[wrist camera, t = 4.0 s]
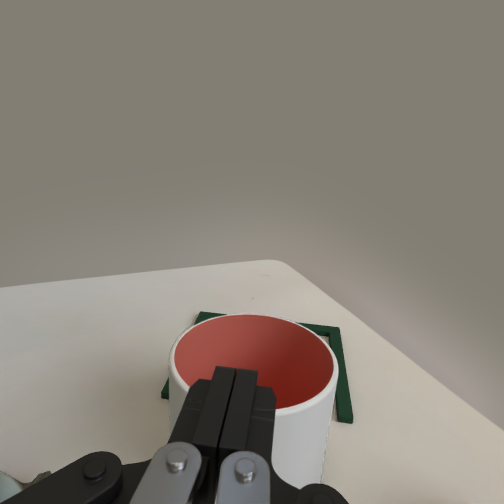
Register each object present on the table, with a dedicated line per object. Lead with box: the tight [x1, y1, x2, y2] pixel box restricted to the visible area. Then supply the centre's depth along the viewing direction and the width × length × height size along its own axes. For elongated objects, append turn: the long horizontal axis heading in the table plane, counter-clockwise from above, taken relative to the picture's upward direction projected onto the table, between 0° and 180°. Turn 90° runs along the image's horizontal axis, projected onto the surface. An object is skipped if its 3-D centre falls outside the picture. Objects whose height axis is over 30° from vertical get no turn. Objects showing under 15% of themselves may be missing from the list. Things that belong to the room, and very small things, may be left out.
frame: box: [161, 312, 353, 423], centre depth 41 cm, size 16×14×1 cm
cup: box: [169, 313, 339, 504], centre depth 26 cm, size 10×10×10 cm
